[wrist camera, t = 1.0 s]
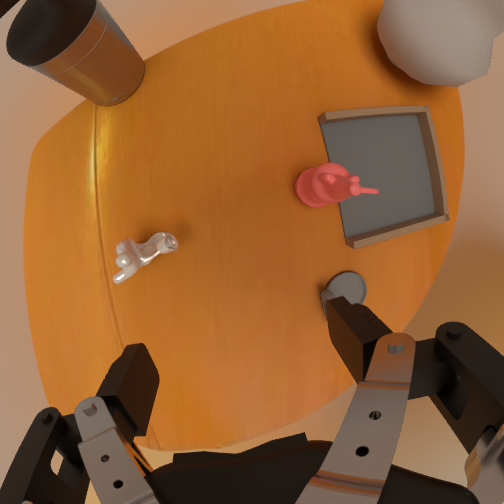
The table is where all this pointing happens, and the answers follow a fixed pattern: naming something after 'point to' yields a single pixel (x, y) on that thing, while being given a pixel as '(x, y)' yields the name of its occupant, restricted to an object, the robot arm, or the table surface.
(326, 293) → the pocket watch
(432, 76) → the vase
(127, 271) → the figurine
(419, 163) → the tray
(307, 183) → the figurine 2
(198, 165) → the table surface
